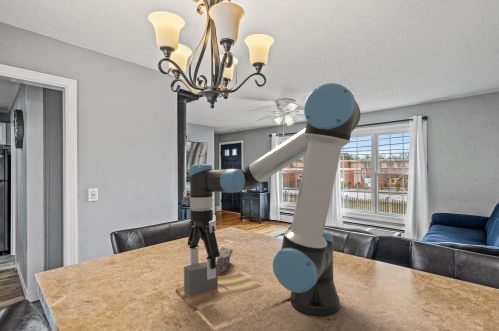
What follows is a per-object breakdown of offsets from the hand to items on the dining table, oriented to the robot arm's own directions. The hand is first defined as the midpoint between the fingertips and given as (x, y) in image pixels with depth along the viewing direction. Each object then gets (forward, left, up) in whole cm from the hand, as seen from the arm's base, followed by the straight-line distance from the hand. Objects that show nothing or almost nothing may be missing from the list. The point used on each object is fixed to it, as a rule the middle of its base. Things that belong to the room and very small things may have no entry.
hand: (202, 272), depth 88 cm
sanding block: (0, 0, -7) cm, 7 cm away
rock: (+16, -17, -8) cm, 25 cm away
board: (0, -7, -8) cm, 10 cm away
